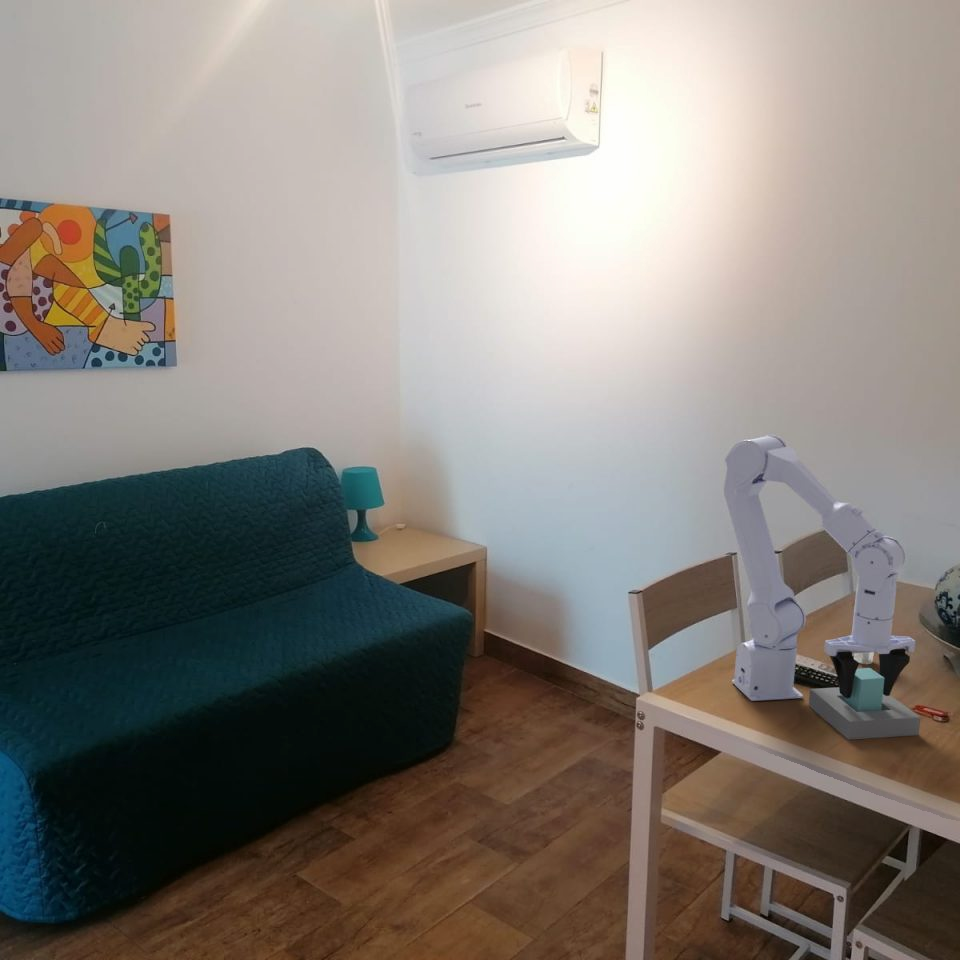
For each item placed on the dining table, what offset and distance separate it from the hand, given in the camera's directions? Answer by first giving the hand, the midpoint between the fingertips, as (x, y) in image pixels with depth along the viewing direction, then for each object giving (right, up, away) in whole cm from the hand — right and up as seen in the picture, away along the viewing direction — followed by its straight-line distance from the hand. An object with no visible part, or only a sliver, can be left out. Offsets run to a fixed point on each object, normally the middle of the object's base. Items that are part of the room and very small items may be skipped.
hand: (864, 694), depth 149 cm
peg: (0, -4, +1) cm, 4 cm away
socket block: (0, -4, +1) cm, 4 cm away
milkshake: (+11, 0, +25) cm, 27 cm away
